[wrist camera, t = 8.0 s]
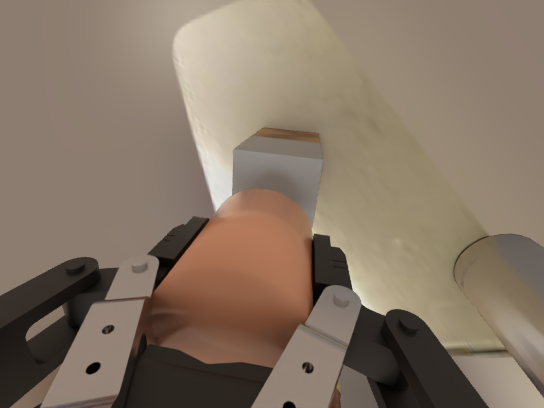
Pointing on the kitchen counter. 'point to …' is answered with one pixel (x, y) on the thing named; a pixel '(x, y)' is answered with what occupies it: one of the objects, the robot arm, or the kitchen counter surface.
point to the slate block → (280, 169)
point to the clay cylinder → (240, 283)
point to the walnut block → (288, 135)
